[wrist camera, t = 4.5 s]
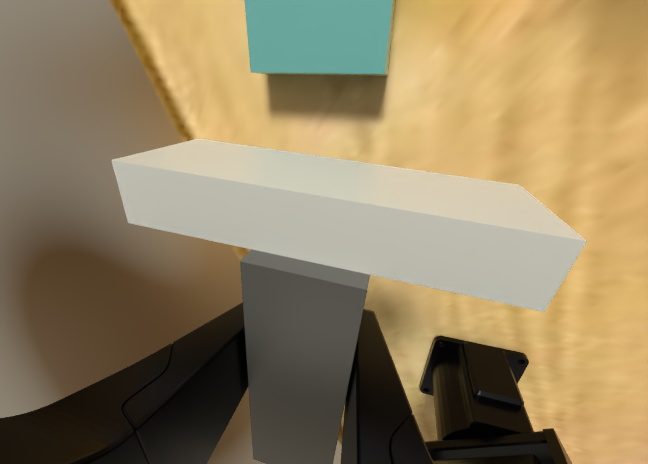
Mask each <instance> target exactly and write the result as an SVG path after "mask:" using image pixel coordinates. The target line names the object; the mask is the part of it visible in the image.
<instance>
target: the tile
mask: <svg viewBox="0 0 648 464" xmlns="http://www.w3.org/2000/svg"><path fill="white" fill-rule="evenodd" d="M395 1H396V0H245V10H246V22H247V33H248V45H249V57H250V69H251V73H261V74H289V75H363V76H388V66H389V57H390V48H391V38H392V29H393V20H394V10H395Z"/></svg>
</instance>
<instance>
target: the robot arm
mask: <svg viewBox="0 0 648 464" xmlns="http://www.w3.org/2000/svg"><path fill="white" fill-rule="evenodd" d="M440 342H443V343H440ZM520 359H521V360H520ZM528 364H529V361H528V359H527V356H526V355H525V354H523V353H520V352H515V351H511V350H506V349H501V348H496V347H492V346H487V345H482V344H478V343H473V342H468V341H463V340H459V339H454V338H449V337H444V336H437V337H435V339H434V341H433V344H432V348H431V351H430V354H429V357H428V360H427V364H426V367H425V370H424V373H423V376H422V380H421V383H420V390H421V392H423V393H425V394H429V395H433V396H434V405H435V415H436V426H437V436H438V441H426V442H424V440H423V437H422V435H421V432H420V430H419V427H418V425H417V422H416V419H415V417H414V415H413V414H412V409H411V407H410V404H409V402H408V399H407V396H406V394H405V391H404V388H403V386H402V383H401V381H400V378H399V375H398V373H397V370H396V368H395V365H394V362H393V360H392V357H391V355H390V352H389V349H388V347H387V344H386V341H385V339H384V336H383V334H382V331H381V328H380V326H379V323H378V321H377V318H376V315H375V313H374V312H373V311H371V310H366V309H363V313H362V318H361V323H360V328H359V333H358V338H357V343H356V348H355V353H354V359H353V364H352V369H351V374H350V379H349V384H348V389H347V394H346V399H345V412H344V426H343V440H342V453H341V464H572V462H571V460H570V458H569V457H568V455H567V453H566V451H565V449H564V447H563V445H562V443H561V442H560V440H559V438H558V436H557V434H556V432H555V430H554V428H551V429H543V431H539V432H534V431H533V428H532V425H531V423H530V420H529V417H528V415H527V412H526V409H525V407H524V401H523V399H522V396H521V393H520V391H519V388H518V385H517V383H518V381H519V380H520V378H521V376H522V374H523V373H524V371H525V369H526V367H527V365H528ZM247 387H248V370H247V355H246V340H245V325H244V310H243V302H242V303H240V304H239V305H237V306H235V307H234V308H232V309H230V310H228V311H227V312H225V313H223V314H221V315H220V316H218V317H216V318H214V319H213V320H211V321H209V322H207V323H206V324H204V325H202V326H201V327H199V328H197V329H195V330H193V331H192V332H190V333H188V334H187V335H185V336H183V337H181V338H180V339H178V340H176V341H174V343H173V344H169V345H167V346H166V347H164V348H162V349H160V350H158V351H157V352H155V353H153V354H151V355H150V356H148V357H146V358H144V359H142V360H140V361H139V362H136V363H135V364H133V365H131V366H129V367H127V368H125V369H123V370H121V371H119V372H117V373H115V374H113V375H110V376H109V377H106V378H104V379H102V380H100V381H98V382H96V383H94V384H92V385H90V386H88V387H86V388H84V389H81V390H79V391H77V392H75V393H73V394H71V395H69V396H67V397H65V398H63V399H61V400H59V401H56V402H54V403H52V404H50V405H48V406H45V407H42V408H40V409H37V410H34V411H31V412H28V413H24V414H20V415H16V416H12V417H5V418H0V464H207V462H208V461H209V459H210V457H211V455H212V453H213V451H214V449H215V447H216V446H217V443H218V442H219V440H220V438H221V436H222V434H223V432H224V431H225V429H226V427H227V425H228V423H229V421H230V419H231V418H232V416H233V414H234V412H235V410H236V408H237V406H238V404H239V402H240V401H241V398H242V397H243V395H244V393H245V391H246V389H247Z"/></svg>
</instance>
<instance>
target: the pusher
mask: <svg viewBox="0 0 648 464" xmlns="http://www.w3.org/2000/svg"><path fill="white" fill-rule="evenodd" d="M112 164H113V168H114V172H115V175H116V179H117V183H118V186H119V190H120V194H121V198H122V201H123V205H124V209H125V213H126V216H127V220H128V223H132V224H136V225H141V226H145V227H150V228H155V229H159V230H164V231H169V232H173V233H178V234H183V235H187V236H192V237H197V238H201V239H206V240H211V241H216V242H220V243H225V244H229V245H234V246H239V247H243V248H248V249H251V250H250V252H249V253H248V254H247V255H246V256H245V257H244V258H243V259H242V260H241V261H240V265H241V280H242V295H243V310H244V325H245V340H246V355H247V370H248V386H249V401H250V416H251V430H252V446H253V458H254V459H255V460H258V461H260V462H263V463H266V464H333V460H334V455H335V450H336V444H337V440H338V434H339V429H340V424H341V419H342V414H343V409H344V404H345V399H346V394H347V389H348V384H349V379H350V374H351V369H352V364H353V359H354V353H355V348H356V343H357V338H358V333H359V328H360V323H361V318H362V313H363V308H364V303H365V298H366V293H367V287H368V282H369V277H370V275H374V276H378V277H383V278H388V279H392V280H397V281H402V282H406V283H411V284H416V285H420V286H425V287H430V288H434V289H439V290H444V291H448V292H453V293H458V294H462V295H467V296H472V297H476V298H481V299H486V300H490V301H495V302H500V303H504V304H509V305H514V306H518V307H523V308H527V309H532V310H537V311H541V312H545V310H546V308H547V307H548V305H549V303H550V302H551V300H552V298H553V297H554V295H555V293H556V292H557V290H558V288H559V287H560V285H561V283H562V282H563V280H564V278H565V277H566V275H567V273H568V272H569V270H570V268H571V267H572V265H573V263H574V262H575V260H576V258H577V257H578V255H579V253H580V252H581V250H582V248H583V247H584V245H585V243H586V242H587V241H586V240H585V239H584V238H583V237H581V236H580V235H579V234H578V233H577V232H575V231H574V230H573V229H572V228H571V227H569V226H568V225H567V224H566V223H565V222H564V221H562V220H561V219H560V218H559V217H558V216H556V215H555V214H554V213H553V212H552V211H550V210H549V209H548V208H547V207H546V206H544V205H543V204H542V203H541V202H540V201H539V200H537V199H536V198H535V197H534V196H533V195H531V194H530V193H529V192H528V191H527V190H525V189H524V188H523V187H522V186H521V185H518V184H511V183H504V182H497V181H490V180H483V179H476V178H469V177H462V176H455V175H448V174H441V173H435V172H428V171H421V170H414V169H407V168H400V167H393V166H386V165H379V164H372V163H365V162H358V161H351V160H345V159H338V158H331V157H324V156H317V155H310V154H303V153H296V152H289V151H282V150H275V149H268V148H261V147H255V146H248V145H241V144H234V143H227V142H220V141H213V140H206V139H195V140H191V141H187V142H183V143H179V144H175V145H171V146H167V147H163V148H158V149H154V150H151V151H146V152H143V153H138V154H134V155H130V156H127V157H122V158H118V159H114V160H112Z"/></svg>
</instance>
